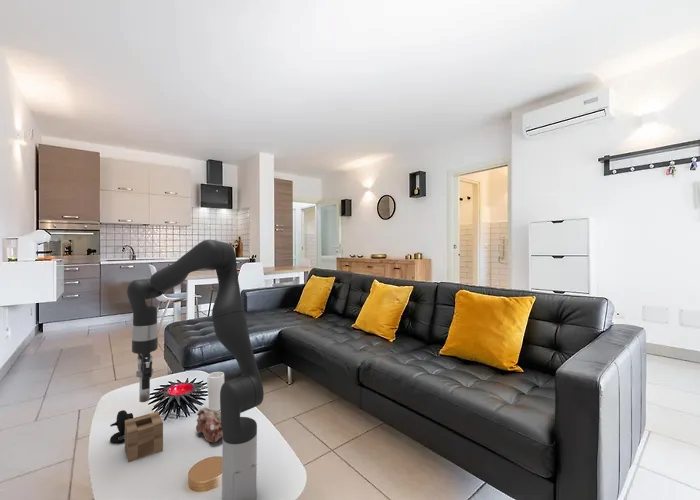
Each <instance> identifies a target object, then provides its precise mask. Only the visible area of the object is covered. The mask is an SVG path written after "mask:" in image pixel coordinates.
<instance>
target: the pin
mask: <svg viewBox="0 0 700 500" xmlns="http://www.w3.org/2000/svg"><path fill="white" fill-rule="evenodd" d="M146 374H148V372H146V373H145V375H146ZM153 374H154V368H152V373H151V375H153ZM135 376H136V378H139V388H138V389H139V403H146V402H149V400H151V399H150V397H151V396H150V395H151V391H150V389H151V387H150V388H149V389H145V390H142V378H141V377H142V373H141V372H140V370H139V369H138V370H136V372H135Z"/></svg>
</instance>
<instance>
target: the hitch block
mask: <svg viewBox="0 0 700 500" xmlns="http://www.w3.org/2000/svg"><path fill="white" fill-rule="evenodd" d="M124 438H125V442H124V451H125V455H126V460H127V463H130V462H133V461H136V460H139V459H143V458H145V457H148V456H151V455H154V454H157V453H160V452H162V451H164V422H163V420H162V417H161V415H160V414H159V411H155V412H151V413H148V414H143V415H139V416H136V417H133V418H132V419H128V420H125V436H124Z"/></svg>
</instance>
